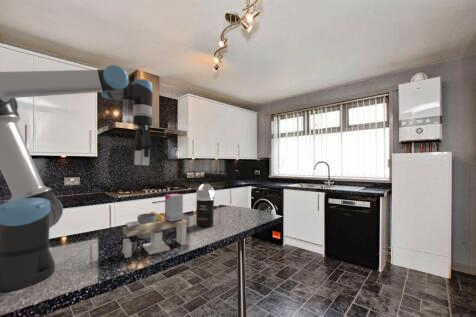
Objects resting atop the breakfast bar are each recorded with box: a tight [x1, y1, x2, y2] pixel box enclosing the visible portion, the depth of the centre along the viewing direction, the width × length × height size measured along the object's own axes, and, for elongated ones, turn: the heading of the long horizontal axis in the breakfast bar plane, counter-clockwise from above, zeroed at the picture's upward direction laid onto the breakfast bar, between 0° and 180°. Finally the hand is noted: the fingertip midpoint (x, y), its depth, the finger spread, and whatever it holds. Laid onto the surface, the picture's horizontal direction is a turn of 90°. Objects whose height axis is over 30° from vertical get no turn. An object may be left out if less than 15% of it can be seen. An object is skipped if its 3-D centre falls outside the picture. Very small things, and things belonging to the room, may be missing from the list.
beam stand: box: [122, 225, 187, 259], centre depth 92 cm, size 24×10×8 cm, turn 127°
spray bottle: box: [195, 181, 215, 228], centre depth 127 cm, size 10×10×25 cm
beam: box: [122, 219, 188, 238], centre depth 92 cm, size 24×9×4 cm, turn 127°
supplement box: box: [164, 193, 184, 223], centre depth 96 cm, size 6×6×12 cm
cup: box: [136, 212, 156, 240], centre depth 107 cm, size 8×8×10 cm
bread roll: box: [150, 211, 165, 222], centre depth 126 cm, size 13×10×8 cm
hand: (141, 165), depth 95 cm, fingers open, 13 cm apart
